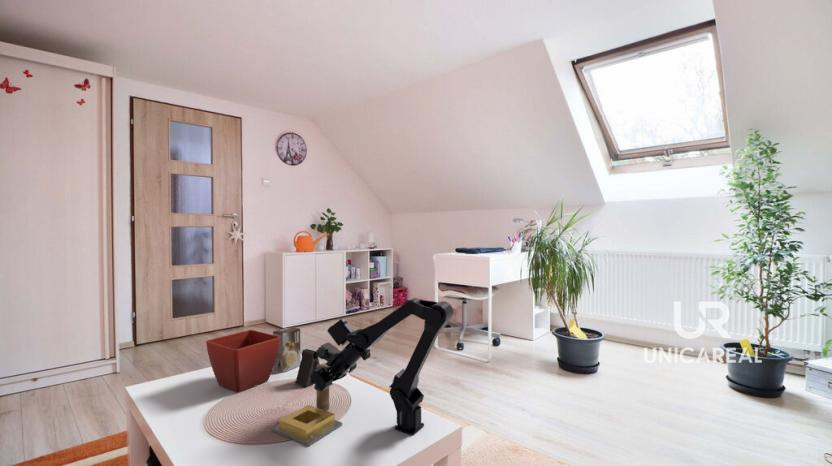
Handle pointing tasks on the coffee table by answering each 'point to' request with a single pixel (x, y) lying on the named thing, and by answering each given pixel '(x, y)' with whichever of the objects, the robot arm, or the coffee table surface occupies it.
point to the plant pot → (243, 358)
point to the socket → (307, 425)
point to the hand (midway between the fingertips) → (319, 386)
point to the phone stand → (307, 368)
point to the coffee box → (288, 349)
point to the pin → (322, 393)
